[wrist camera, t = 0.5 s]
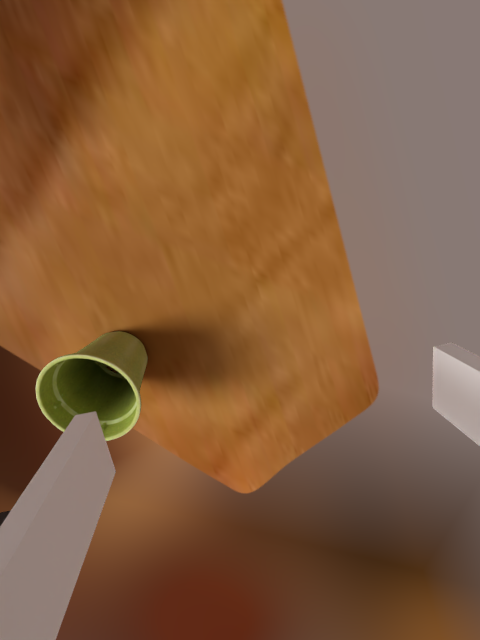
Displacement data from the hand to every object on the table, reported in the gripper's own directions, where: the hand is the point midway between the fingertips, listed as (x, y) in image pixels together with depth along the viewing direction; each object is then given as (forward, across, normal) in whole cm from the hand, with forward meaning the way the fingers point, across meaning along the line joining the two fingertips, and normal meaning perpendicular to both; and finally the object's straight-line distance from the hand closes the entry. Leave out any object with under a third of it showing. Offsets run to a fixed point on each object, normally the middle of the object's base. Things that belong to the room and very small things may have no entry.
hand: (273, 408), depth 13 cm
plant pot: (+25, -13, -6) cm, 29 cm away
